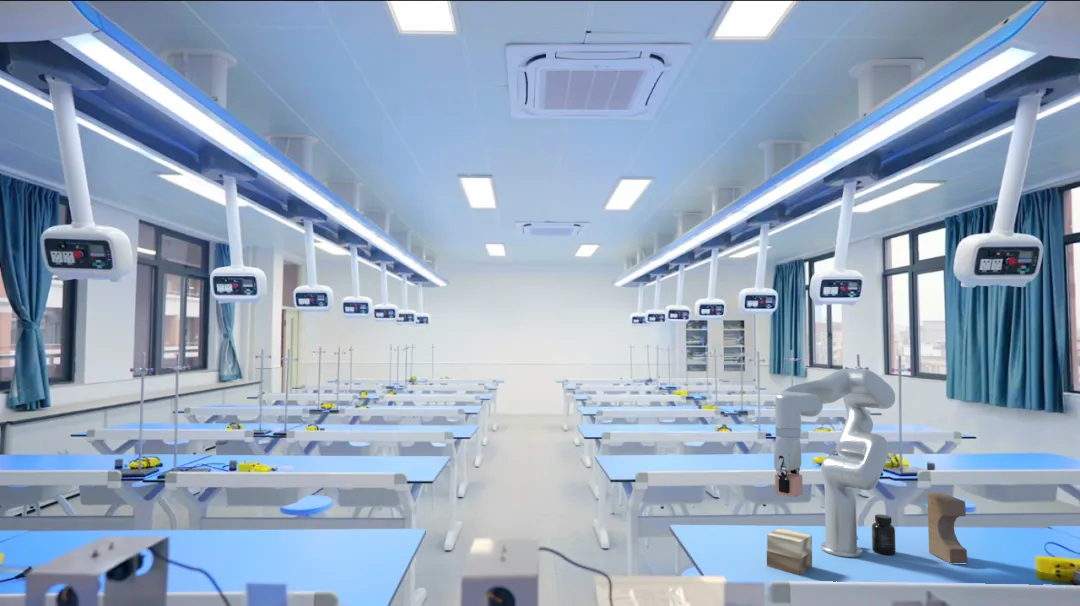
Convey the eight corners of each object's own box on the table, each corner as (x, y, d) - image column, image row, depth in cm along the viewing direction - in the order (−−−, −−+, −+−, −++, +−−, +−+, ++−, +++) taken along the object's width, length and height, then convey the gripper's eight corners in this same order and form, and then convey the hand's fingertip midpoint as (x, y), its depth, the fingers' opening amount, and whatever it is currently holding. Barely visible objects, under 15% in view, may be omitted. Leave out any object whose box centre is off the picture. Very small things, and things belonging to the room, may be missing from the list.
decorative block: (968, 565, 191) (966, 501, 193) (950, 564, 191) (948, 501, 193) (945, 552, 202) (943, 492, 204) (928, 552, 202) (926, 492, 204)
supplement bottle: (870, 547, 206) (870, 512, 207) (893, 550, 204) (892, 514, 205) (874, 554, 200) (873, 517, 201) (897, 557, 197) (896, 520, 198)
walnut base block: (780, 559, 194) (780, 543, 194) (812, 568, 187) (811, 551, 187) (766, 567, 187) (766, 550, 188) (798, 576, 180) (798, 559, 180)
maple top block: (780, 543, 194) (780, 527, 195) (811, 551, 188) (811, 535, 188) (767, 550, 187) (767, 534, 188) (799, 559, 180) (799, 542, 181)
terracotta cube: (783, 490, 193) (783, 471, 193) (802, 494, 188) (802, 475, 189) (775, 493, 189) (775, 474, 189) (794, 497, 184) (793, 477, 185)
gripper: (788, 429, 198) (789, 484, 197) (764, 434, 187) (764, 492, 186) (811, 432, 193) (812, 488, 192) (787, 437, 181) (788, 497, 180)
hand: (788, 490), depth 189 cm, fingers closed on terracotta cube, 6 cm apart
